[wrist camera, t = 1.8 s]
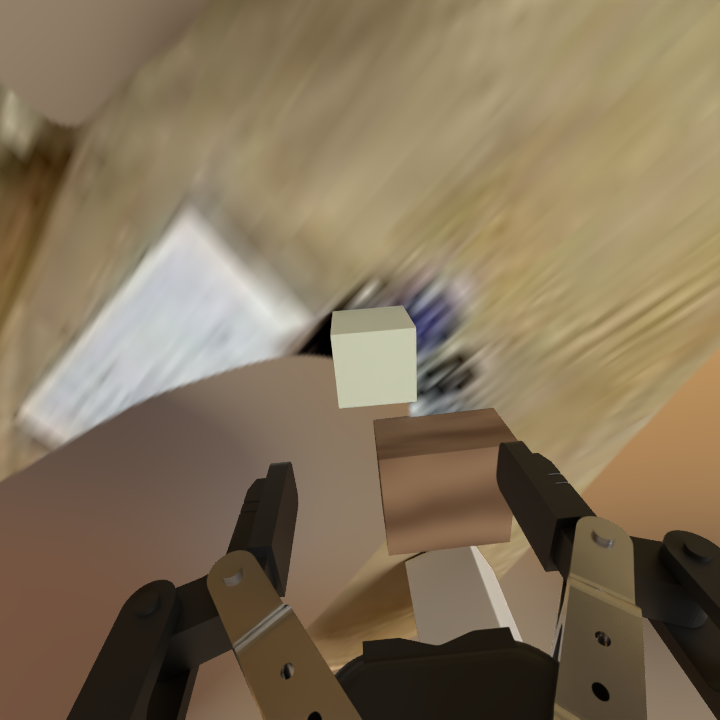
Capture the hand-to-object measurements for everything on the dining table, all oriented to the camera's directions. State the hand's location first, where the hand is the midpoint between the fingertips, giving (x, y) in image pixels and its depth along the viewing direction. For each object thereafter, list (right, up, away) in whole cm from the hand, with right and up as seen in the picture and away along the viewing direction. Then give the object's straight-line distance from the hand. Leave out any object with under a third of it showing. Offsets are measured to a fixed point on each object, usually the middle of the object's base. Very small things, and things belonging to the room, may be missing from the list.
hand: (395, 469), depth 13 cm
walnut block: (+5, -5, +17) cm, 19 cm away
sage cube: (-1, +6, +12) cm, 14 cm away
